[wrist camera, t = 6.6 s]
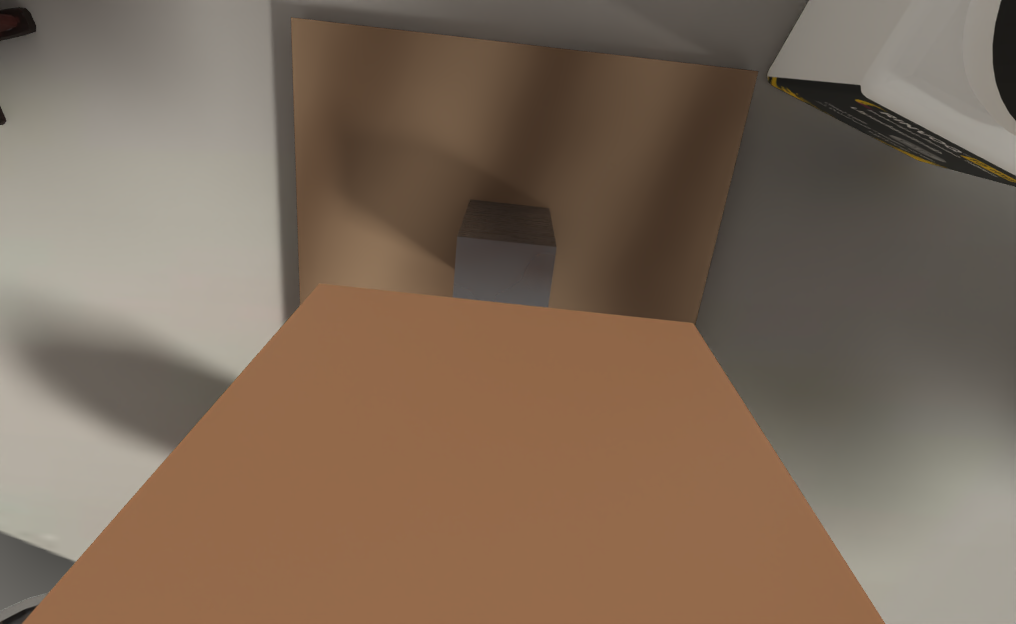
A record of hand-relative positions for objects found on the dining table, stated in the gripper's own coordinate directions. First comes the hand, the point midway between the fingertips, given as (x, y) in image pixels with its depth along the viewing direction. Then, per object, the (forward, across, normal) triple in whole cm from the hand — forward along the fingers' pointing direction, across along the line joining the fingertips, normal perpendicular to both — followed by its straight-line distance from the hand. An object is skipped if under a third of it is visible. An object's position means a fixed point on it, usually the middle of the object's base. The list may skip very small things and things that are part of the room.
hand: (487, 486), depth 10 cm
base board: (+15, 0, 0) cm, 15 cm away
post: (+15, 0, 0) cm, 15 cm away
